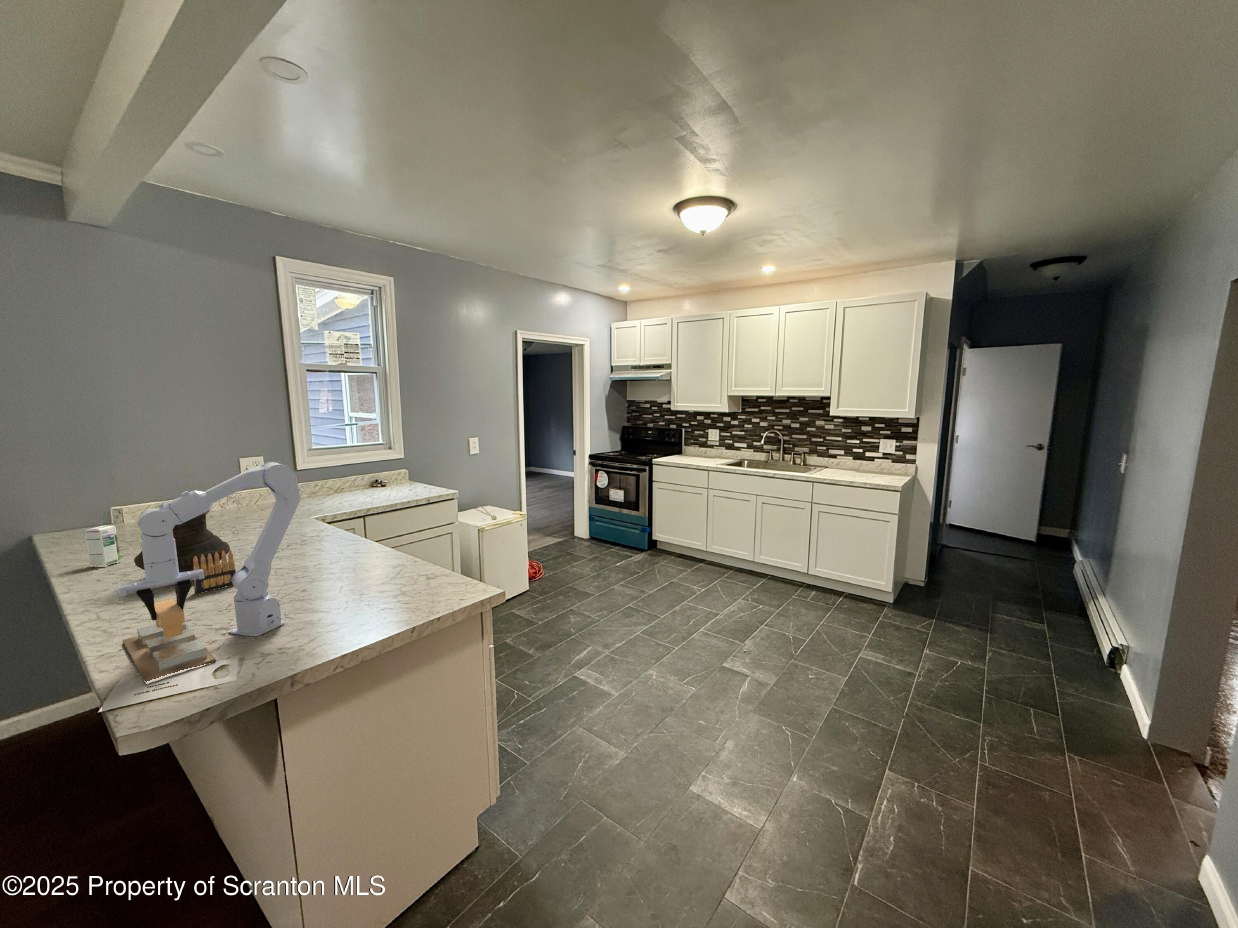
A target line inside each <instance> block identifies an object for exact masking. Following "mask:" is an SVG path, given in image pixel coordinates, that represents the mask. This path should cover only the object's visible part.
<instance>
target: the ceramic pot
mask: <svg viewBox="0 0 1238 928" xmlns="http://www.w3.org/2000/svg"><path fill="white" fill-rule="evenodd" d="M210 511H211V509H210V510H209V511H207V512H205V513H203V514H201V515H199V516H197V517H194V518H192V519H190V520H188V521H186V522H184V523H182V524H178V525H175V526H174V528H173V538H174V539H175V543H176V552H177V560H178V568H179V573H181V572H188V571H193V568H194V564H193V560H194V556H196V557H197V559H198V563H199V567H200V568H201V555H202V554H203V555H204V557H205V561H206V566H207V571H208V554H209V553H210V554H211V556H212V560H213V565H215V553H216V552H217V553H218V555H219V560H220V561H222V557H221V556H222V551H224V552H225V554H226V556H228V553H229V549H231V547H230V545H229V543H228V542H227V541H224V540H222V539H221V537H219V536H218V535H217V534H216V535H215V534H214V533H213V532H212V531H211V530H209V529H208V528H207V515H208V513H209V512H210ZM180 521H181V520H180ZM181 522H182V521H181ZM133 563H134V564H135V566H136V567H137V568H139V569H141V570H143V571H145V569H144V561H143V554H142V550H140V552H139V553H138V554H137V555H136V556H135V557H134V559H133Z"/></svg>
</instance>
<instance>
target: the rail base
mask: <svg viewBox="0 0 1238 928" xmlns="http://www.w3.org/2000/svg"><path fill="white" fill-rule="evenodd" d="M187 629H189V627H187V625H186V630H187ZM195 640H198V637H197V636H196V635H195ZM122 644H123V646H124V648H125V649H126V651H127V653H128V655H129V656H130V658H131V661H132V662H133V664H134V665H135V667H136V669H137V671H138V673H139V675H140V674H141V675H140V676H141V678H142V677H143V678H144V680H145V681H146V682H147V681H150V680H152V679H156V678H159V677H161V676H165V675H167V674H171V673H175V672H178V671H180V670H184V669H188V668H192V667H197V666H200V665H204V664H208V665H210V664H209V663H211V664H214V663H216V662H217V661H216V657H215V656H214V655H213V654H212V653H211V652H210V651H209V650H208V649H207V658H205V659H202V660H199V661H196V662H193V663H190V664H187V665H183V666H180V667H177V668H174V669H171V670H168V671H165V672H162V673H160V672H159V671H158V669H157V668H156V666H155V664H154V661H153V657H152V658H150V656H149V655H148V653H147V652H146V646H143V645H142V644H141V642H140V641H139V639H138V635H135V636H133V637H129V638H125V639H122ZM143 678H142V679H143ZM144 680H143V681H144Z"/></svg>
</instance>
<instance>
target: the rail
mask: <svg viewBox="0 0 1238 928" xmlns="http://www.w3.org/2000/svg"><path fill="white" fill-rule="evenodd" d="M186 626H187V625H186V623H185V622H183V623H182V630H183V634H182V635H179V636H175V637H172V638H168V639H165V638H164V635H163V628H161V627H159V628H157V626H156V623H155V624H150V625H147V626H143V627H140V628H136V633H137V636H138V639H139V641H140V642H141V644H142V645H143V646H146V652H147V653H148V655H149V656H150V658H152V657H153V661H154V664H155V666H156V668H157V669H158V671H159V672H160V673H162V672H165V671H168V670H171V669H174V668H177V667H180V666H183V665H187V664H190V663H193V662H196V661H199V660H202V659H205V658H207V650H208V649H207V647H206V645H205V644H204V643H203V642H202V641H201V640H200V639H198V638H197V639H198V640H195V636H196V635H195V633H194V632H193V631H192V630H191V629H190V628H188V629H187V630H186Z"/></svg>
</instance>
